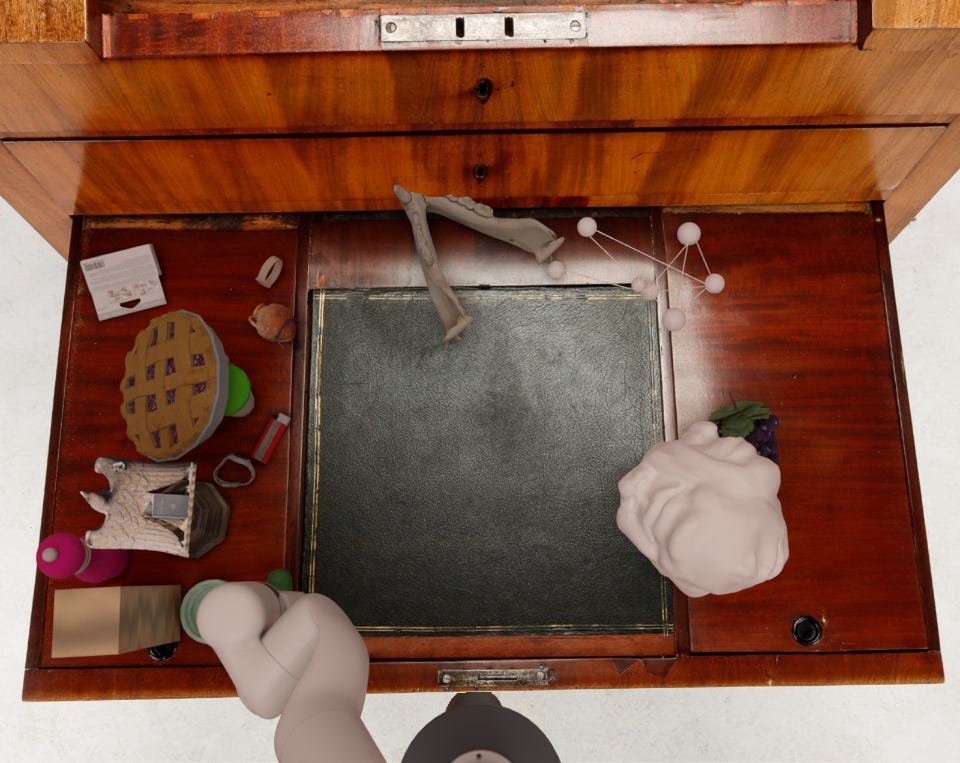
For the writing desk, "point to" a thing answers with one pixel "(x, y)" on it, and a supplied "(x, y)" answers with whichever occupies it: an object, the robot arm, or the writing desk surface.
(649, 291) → the molecule model
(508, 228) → the jawbone
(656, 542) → the head sculpture
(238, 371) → the cup
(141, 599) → the oak stand
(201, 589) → the pale green round dish
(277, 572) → the cucumber
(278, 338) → the pot
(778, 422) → the fruit
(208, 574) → the writing desk surface
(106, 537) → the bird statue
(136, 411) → the pie
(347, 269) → the writing desk surface
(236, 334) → the writing desk surface
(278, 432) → the lighter
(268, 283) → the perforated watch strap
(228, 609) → the robot arm
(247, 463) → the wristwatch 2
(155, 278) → the ink cartridge box
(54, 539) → the pepper mill
